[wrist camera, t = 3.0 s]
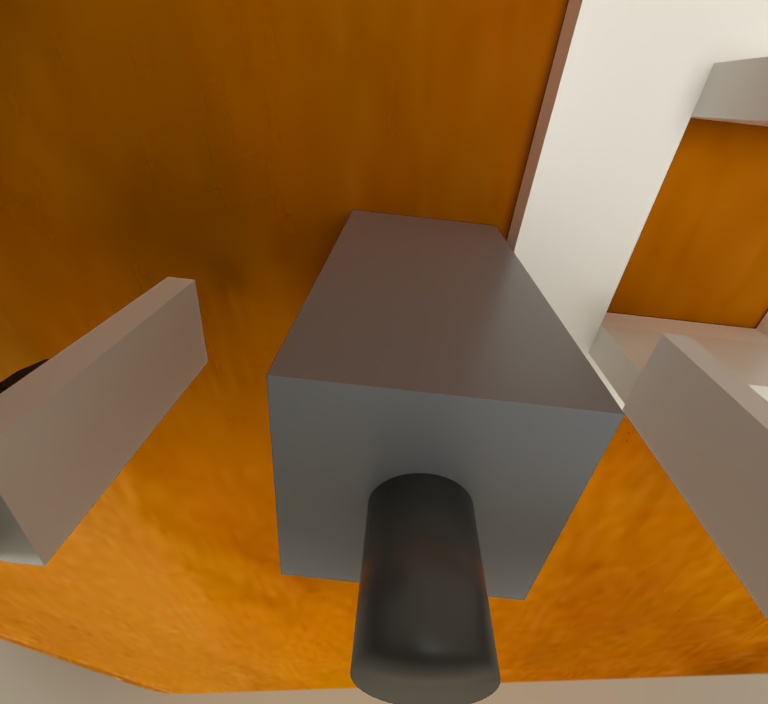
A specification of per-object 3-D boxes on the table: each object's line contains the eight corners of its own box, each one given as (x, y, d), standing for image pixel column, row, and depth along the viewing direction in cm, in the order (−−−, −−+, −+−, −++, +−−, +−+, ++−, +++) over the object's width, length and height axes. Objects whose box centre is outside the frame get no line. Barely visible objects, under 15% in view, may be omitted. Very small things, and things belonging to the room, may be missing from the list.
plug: (346, 334, 17) (238, 729, 6) (352, 209, 14) (183, 532, 4) (466, 347, 17) (562, 764, 6) (495, 225, 14) (747, 593, 4)
